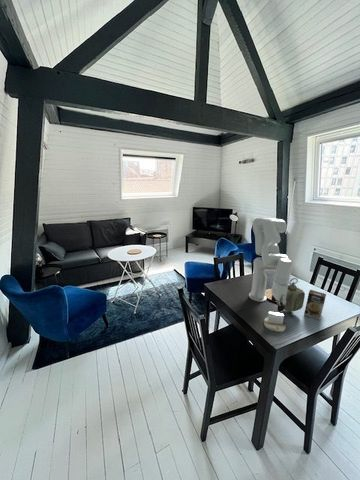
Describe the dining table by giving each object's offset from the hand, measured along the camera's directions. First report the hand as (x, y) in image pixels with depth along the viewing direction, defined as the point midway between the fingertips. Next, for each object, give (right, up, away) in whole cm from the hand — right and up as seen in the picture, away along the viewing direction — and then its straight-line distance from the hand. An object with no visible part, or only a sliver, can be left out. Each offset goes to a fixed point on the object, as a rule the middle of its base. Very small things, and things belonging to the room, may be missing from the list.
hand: (276, 305), depth 122 cm
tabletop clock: (+15, -10, +15) cm, 23 cm away
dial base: (0, -13, +3) cm, 13 cm away
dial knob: (+1, -11, +2) cm, 11 cm away
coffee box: (+30, -11, +13) cm, 34 cm away
